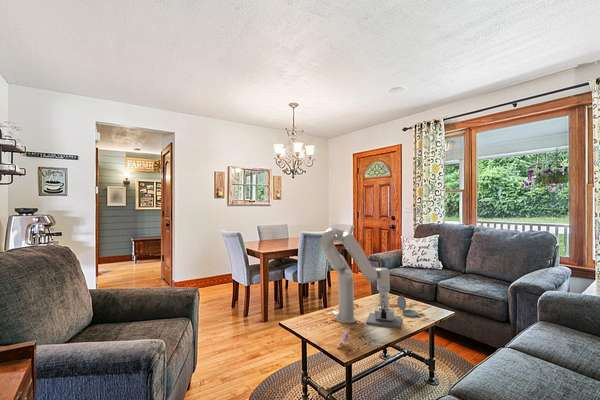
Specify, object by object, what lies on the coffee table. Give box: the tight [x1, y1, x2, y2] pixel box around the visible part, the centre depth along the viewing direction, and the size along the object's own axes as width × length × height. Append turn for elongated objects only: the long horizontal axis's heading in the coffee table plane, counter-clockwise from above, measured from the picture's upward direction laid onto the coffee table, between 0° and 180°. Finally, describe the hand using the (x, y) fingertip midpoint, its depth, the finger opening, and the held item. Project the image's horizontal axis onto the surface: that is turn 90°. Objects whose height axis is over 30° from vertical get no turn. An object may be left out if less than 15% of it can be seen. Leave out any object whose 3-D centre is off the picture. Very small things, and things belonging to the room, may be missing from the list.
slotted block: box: [374, 306, 395, 321], centre depth 182 cm, size 11×7×5 cm, turn 69°
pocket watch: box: [396, 295, 421, 318], centre depth 193 cm, size 10×11×15 cm
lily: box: [336, 326, 354, 348], centre depth 152 cm, size 12×12×10 cm
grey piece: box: [365, 312, 402, 330], centre depth 182 cm, size 20×16×6 cm
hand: (384, 316), depth 182 cm, fingers closed on slotted block, 7 cm apart
